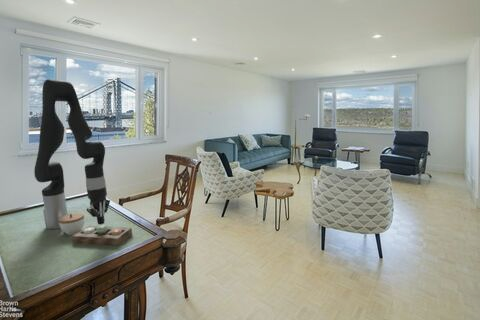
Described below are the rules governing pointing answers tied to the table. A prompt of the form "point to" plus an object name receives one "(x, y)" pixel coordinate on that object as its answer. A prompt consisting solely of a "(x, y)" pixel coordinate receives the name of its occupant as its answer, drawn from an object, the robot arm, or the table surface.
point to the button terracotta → (116, 232)
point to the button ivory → (88, 230)
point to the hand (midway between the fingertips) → (101, 223)
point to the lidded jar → (71, 223)
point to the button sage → (102, 229)
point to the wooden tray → (102, 236)
